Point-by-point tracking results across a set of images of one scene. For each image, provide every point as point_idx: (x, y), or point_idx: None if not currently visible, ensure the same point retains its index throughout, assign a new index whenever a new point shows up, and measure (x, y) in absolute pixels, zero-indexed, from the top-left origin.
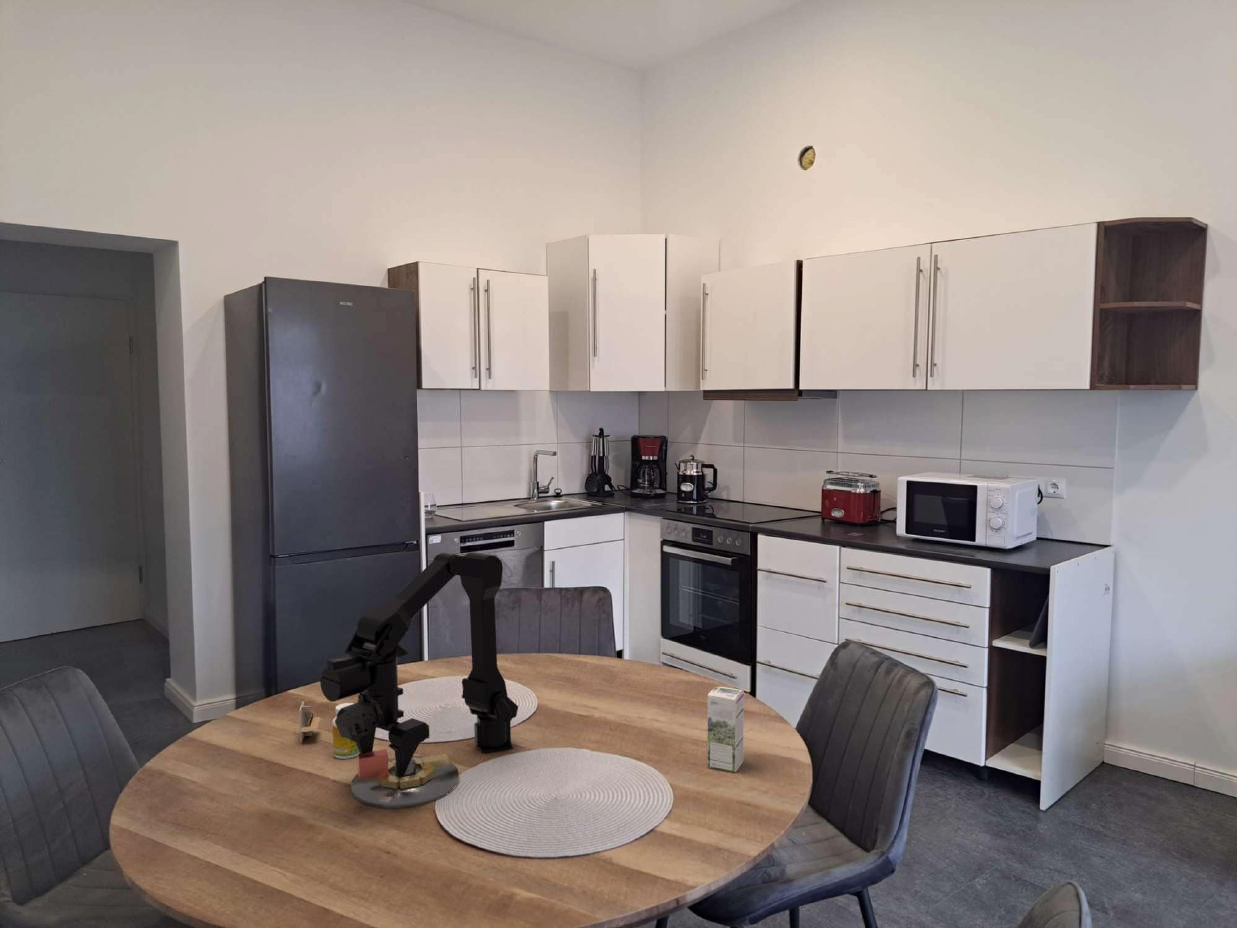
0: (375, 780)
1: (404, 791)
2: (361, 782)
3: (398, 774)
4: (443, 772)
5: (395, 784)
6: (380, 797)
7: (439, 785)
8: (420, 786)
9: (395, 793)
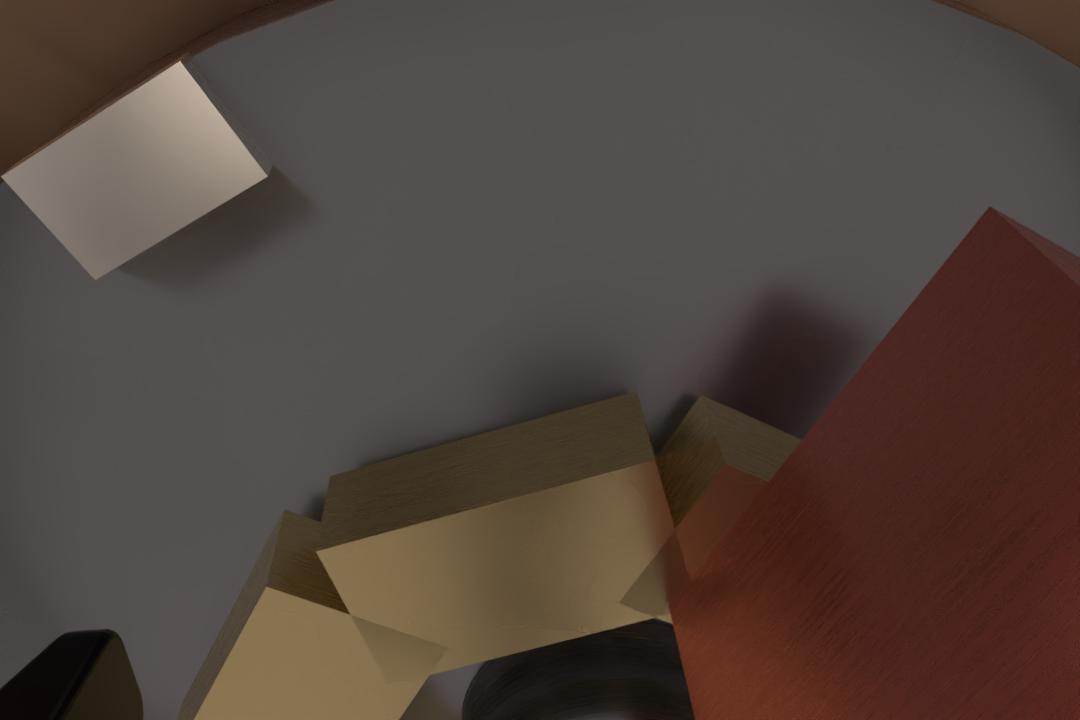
0: None
1: (213, 507)
2: None
3: (32, 676)
4: None
5: (344, 516)
6: (240, 141)
7: None
8: None
9: (256, 398)
